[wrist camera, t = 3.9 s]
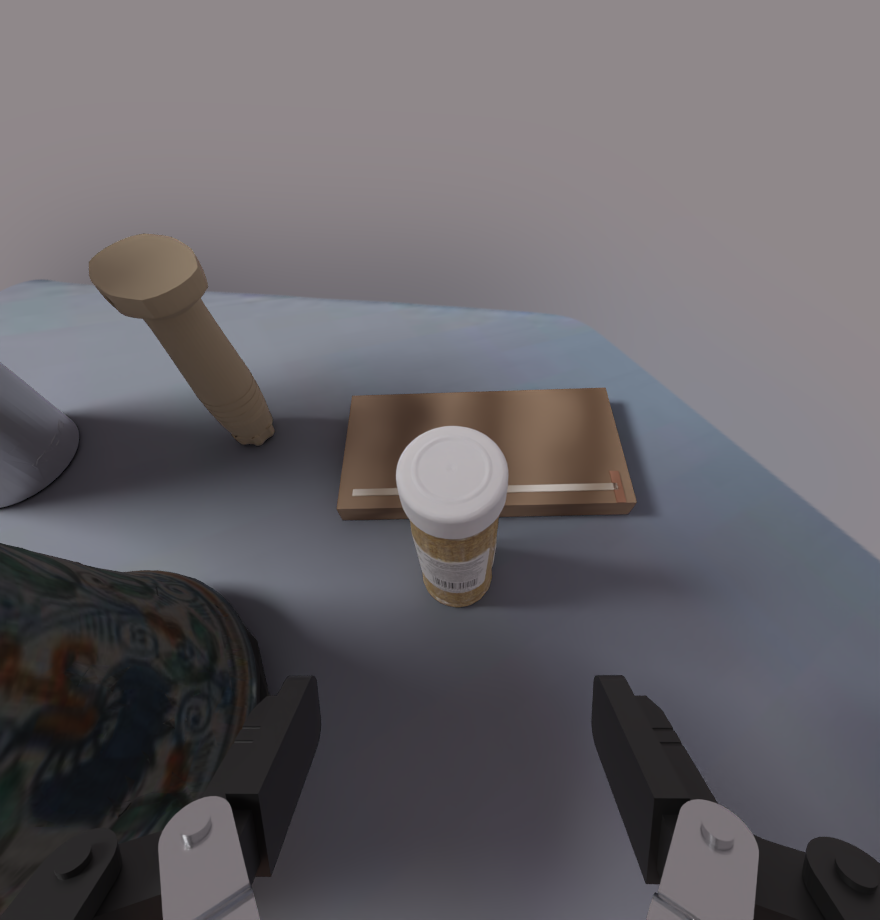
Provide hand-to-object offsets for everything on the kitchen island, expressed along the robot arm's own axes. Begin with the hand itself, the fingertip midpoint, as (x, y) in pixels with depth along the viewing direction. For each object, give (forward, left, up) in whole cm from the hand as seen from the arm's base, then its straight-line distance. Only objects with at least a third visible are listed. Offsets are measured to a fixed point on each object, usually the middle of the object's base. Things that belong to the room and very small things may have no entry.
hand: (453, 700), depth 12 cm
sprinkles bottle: (0, +8, -14) cm, 16 cm away
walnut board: (+2, +17, -14) cm, 22 cm away
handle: (-16, +20, -14) cm, 29 cm away
